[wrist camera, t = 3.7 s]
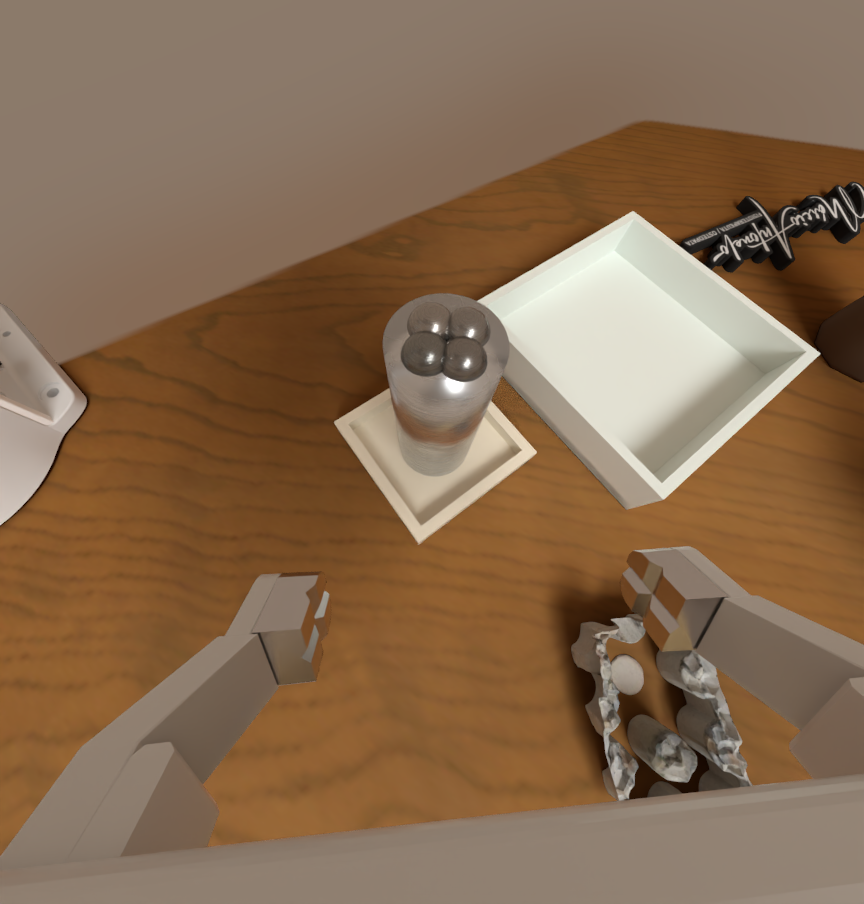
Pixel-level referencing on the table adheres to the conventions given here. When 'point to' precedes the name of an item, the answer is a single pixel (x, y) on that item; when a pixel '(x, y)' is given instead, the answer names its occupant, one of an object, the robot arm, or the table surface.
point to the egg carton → (655, 744)
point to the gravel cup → (442, 377)
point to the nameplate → (779, 228)
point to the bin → (641, 356)
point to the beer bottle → (844, 340)
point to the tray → (431, 497)
